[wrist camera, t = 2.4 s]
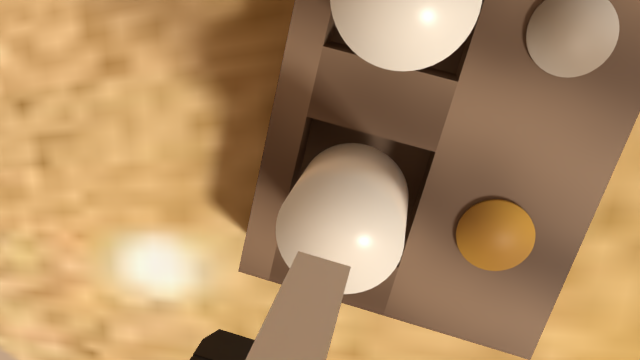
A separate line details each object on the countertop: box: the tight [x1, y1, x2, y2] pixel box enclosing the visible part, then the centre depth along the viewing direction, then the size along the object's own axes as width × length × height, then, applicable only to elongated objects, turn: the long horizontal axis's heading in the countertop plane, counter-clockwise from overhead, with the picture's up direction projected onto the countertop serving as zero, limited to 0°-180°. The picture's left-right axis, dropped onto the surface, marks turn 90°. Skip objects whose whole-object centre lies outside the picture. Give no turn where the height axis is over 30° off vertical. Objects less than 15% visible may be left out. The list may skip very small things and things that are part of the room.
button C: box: [276, 143, 409, 294], centre depth 22 cm, size 4×4×4 cm
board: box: [239, 0, 640, 360], centre depth 22 cm, size 26×13×3 cm, turn 167°
